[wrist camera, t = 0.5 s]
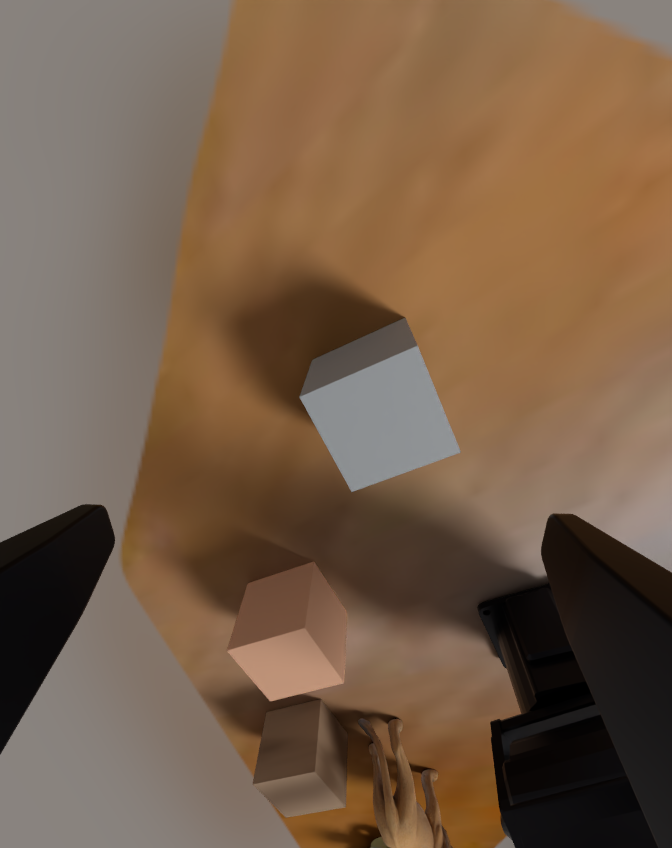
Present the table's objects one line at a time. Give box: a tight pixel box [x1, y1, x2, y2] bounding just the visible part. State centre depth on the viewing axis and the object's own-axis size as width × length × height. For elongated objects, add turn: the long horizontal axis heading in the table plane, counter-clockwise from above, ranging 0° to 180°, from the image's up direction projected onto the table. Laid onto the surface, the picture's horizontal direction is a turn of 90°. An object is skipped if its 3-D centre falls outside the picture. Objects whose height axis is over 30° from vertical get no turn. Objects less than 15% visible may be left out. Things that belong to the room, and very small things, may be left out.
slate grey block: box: [300, 318, 460, 492], centre depth 20 cm, size 5×5×5 cm
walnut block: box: [253, 699, 348, 818], centre depth 33 cm, size 5×5×5 cm
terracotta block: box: [227, 562, 347, 701], centre depth 27 cm, size 5×5×5 cm
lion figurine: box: [358, 718, 453, 848], centre depth 33 cm, size 15×5×9 cm, turn 34°
